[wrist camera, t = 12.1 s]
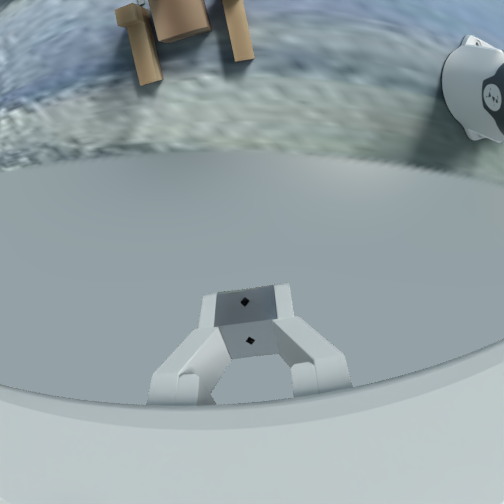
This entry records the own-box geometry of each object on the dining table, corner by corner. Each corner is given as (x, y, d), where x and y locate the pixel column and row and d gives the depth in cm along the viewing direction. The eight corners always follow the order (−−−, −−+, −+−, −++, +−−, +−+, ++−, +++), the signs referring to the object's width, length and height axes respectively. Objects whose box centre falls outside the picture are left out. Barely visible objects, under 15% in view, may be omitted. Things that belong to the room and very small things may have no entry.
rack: (238, -13, 27) (237, -26, 22) (253, 58, 33) (255, 57, 28) (131, 15, 28) (114, 10, 23) (147, 84, 35) (132, 88, 30)
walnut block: (201, -12, 27) (195, -21, 23) (212, 31, 31) (207, 26, 27) (157, 1, 27) (146, -5, 23) (168, 43, 31) (158, 41, 27)
